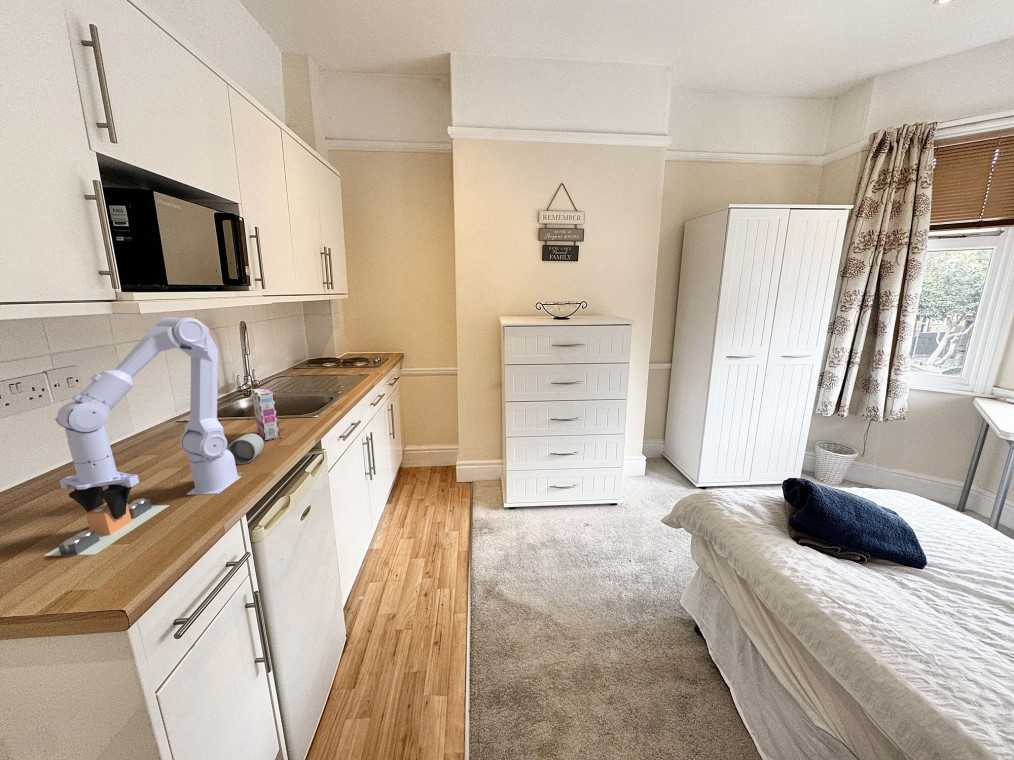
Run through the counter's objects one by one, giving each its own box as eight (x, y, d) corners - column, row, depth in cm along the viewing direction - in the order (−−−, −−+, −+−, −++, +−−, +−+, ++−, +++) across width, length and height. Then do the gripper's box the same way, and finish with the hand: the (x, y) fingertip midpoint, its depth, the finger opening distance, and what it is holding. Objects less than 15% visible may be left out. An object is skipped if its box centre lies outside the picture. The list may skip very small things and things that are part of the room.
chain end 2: (138, 508, 95) (136, 498, 94) (152, 507, 95) (149, 498, 94) (120, 519, 90) (117, 509, 90) (134, 518, 90) (131, 508, 90)
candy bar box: (281, 437, 139) (274, 392, 135) (265, 441, 136) (257, 395, 132) (273, 430, 147) (266, 386, 143) (257, 433, 144) (250, 389, 140)
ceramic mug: (267, 452, 127) (263, 429, 125) (257, 462, 119) (252, 438, 118) (230, 456, 125) (225, 433, 123) (217, 467, 117) (212, 442, 115)
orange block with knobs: (114, 521, 89) (107, 499, 88) (131, 521, 89) (125, 498, 88) (91, 535, 84) (84, 511, 83) (110, 535, 84) (103, 511, 83)
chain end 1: (84, 540, 83) (81, 530, 82) (100, 540, 83) (97, 529, 82) (60, 555, 78) (57, 544, 77) (77, 554, 78) (73, 543, 77)
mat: (128, 507, 96) (127, 506, 96) (170, 506, 96) (169, 505, 96) (44, 557, 78) (43, 555, 78) (95, 556, 78) (94, 554, 78)
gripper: (36, 467, 79) (55, 528, 82) (109, 465, 79) (126, 526, 82) (73, 452, 86) (90, 509, 89) (141, 451, 86) (155, 508, 89)
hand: (109, 516), depth 86 cm, fingers closed on orange block with knobs, 4 cm apart
